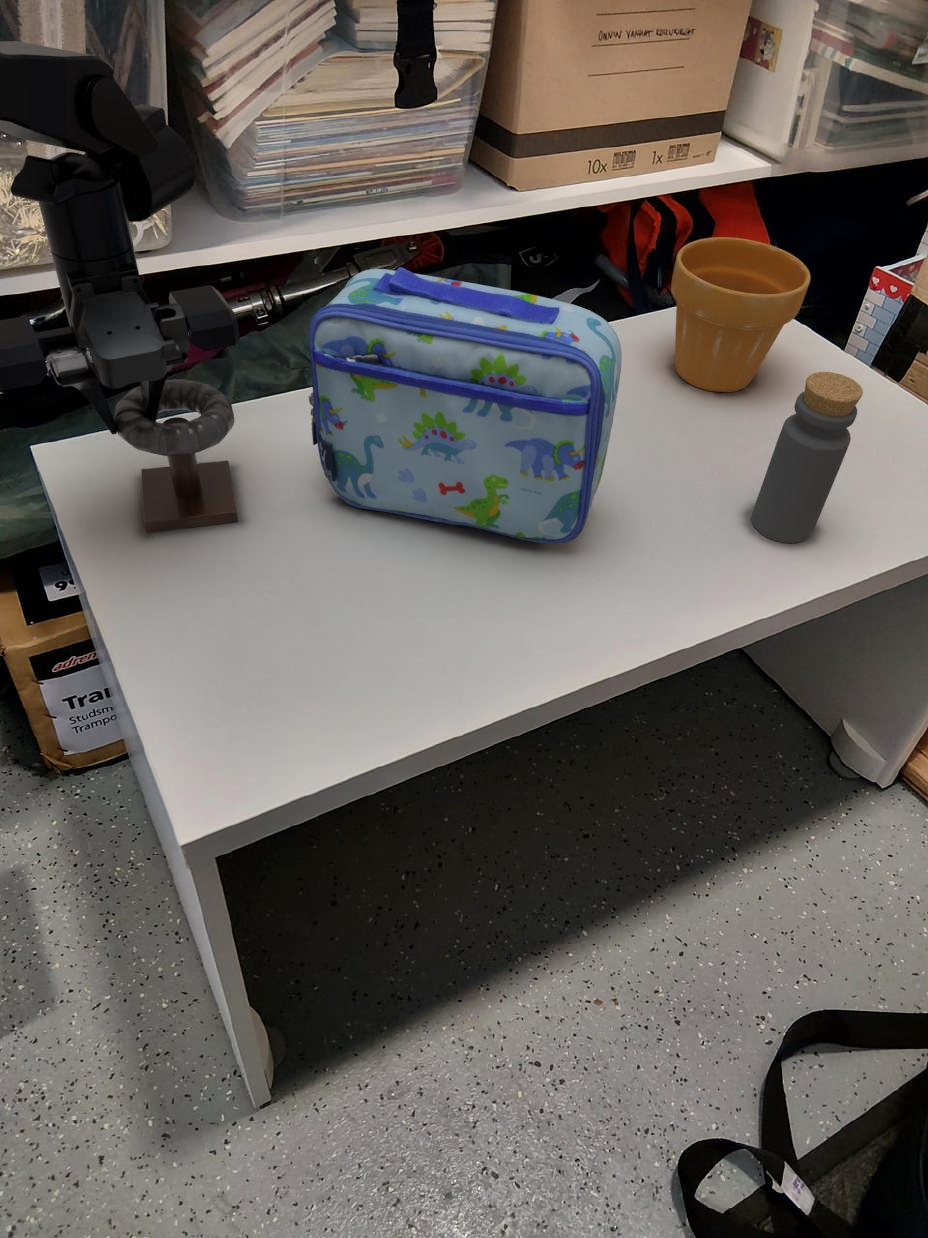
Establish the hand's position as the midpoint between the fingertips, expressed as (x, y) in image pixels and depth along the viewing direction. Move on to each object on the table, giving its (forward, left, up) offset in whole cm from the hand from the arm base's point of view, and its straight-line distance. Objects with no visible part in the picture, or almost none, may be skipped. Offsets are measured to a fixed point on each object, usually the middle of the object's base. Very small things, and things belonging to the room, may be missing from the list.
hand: (132, 427), depth 79 cm
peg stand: (+4, +1, -9) cm, 10 cm away
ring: (+4, +1, 0) cm, 4 cm away
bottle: (+58, -13, -9) cm, 60 cm away
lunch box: (+28, -4, -9) cm, 29 cm away
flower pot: (+64, +14, -9) cm, 66 cm away
